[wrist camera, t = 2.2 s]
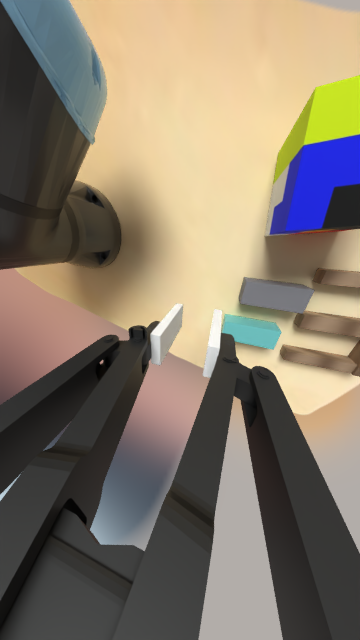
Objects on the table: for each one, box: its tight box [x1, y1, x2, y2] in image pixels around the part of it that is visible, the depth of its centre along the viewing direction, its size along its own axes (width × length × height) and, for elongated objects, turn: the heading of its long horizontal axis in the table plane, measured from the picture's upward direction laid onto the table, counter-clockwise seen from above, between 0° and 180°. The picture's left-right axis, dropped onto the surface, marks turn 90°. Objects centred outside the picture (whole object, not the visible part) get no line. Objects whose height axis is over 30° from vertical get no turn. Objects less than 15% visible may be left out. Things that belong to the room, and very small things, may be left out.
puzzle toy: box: [265, 75, 360, 236], centre depth 17 cm, size 10×10×10 cm
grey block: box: [239, 277, 314, 314], centre depth 27 cm, size 10×4×4 cm, turn 85°
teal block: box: [221, 314, 281, 349], centre depth 31 cm, size 10×4×4 cm, turn 85°
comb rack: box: [280, 268, 360, 376], centre depth 26 cm, size 13×18×4 cm
